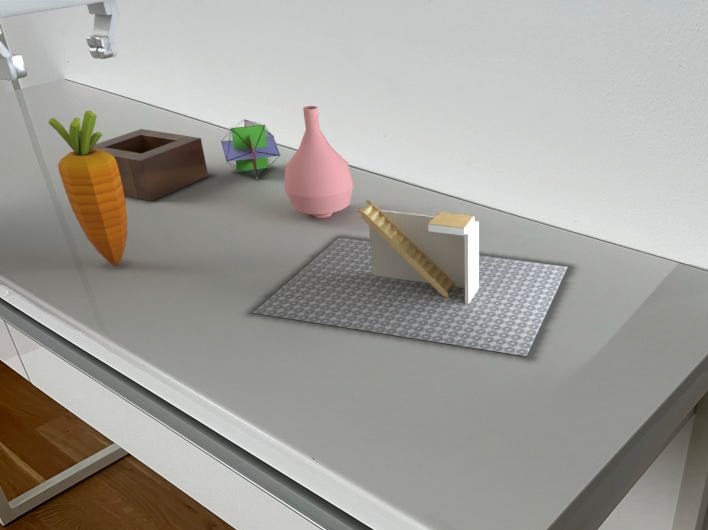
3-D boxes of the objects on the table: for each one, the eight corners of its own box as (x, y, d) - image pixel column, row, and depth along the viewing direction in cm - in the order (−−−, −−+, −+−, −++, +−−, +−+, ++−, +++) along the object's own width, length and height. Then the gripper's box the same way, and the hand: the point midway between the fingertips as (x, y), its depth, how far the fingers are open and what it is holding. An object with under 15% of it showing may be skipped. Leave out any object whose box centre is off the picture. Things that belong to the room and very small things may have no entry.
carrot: (77, 272, 74) (28, 116, 65) (113, 252, 77) (71, 103, 69) (119, 279, 72) (74, 121, 64) (153, 258, 76) (115, 107, 68)
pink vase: (358, 224, 84) (348, 115, 78) (289, 229, 83) (273, 119, 76) (353, 200, 90) (343, 97, 84) (288, 204, 89) (274, 100, 83)
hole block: (90, 189, 93) (78, 149, 91) (150, 166, 101) (141, 128, 98) (151, 201, 90) (141, 160, 87) (208, 176, 98) (201, 137, 95)
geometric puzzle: (285, 165, 95) (272, 104, 95) (229, 171, 92) (215, 109, 93) (282, 184, 101) (269, 127, 102) (229, 190, 99) (217, 132, 100)
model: (468, 303, 68) (468, 224, 64) (360, 288, 71) (353, 210, 67) (478, 288, 71) (478, 211, 67) (374, 274, 73) (368, 198, 69)
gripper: (86, -123, 66) (126, 44, 74) (-159, -123, 51) (-76, 89, 58) (140, -123, 64) (176, 49, 72) (-99, -124, 48) (-21, 96, 56)
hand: (61, 67), depth 65 cm, fingers open, 8 cm apart
